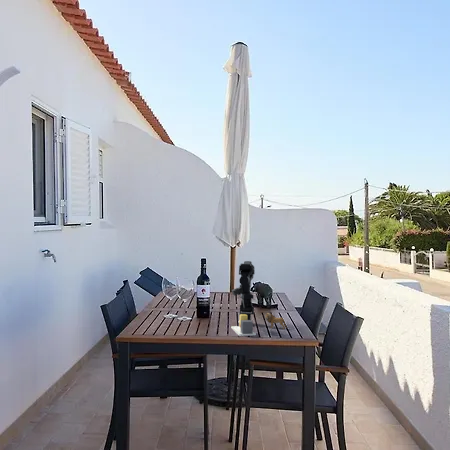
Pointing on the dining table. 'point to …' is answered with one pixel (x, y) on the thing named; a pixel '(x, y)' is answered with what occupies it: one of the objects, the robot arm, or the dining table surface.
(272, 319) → the lion figurine
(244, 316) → the yellow pegged block
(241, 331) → the cord rail
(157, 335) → the dining table surface
